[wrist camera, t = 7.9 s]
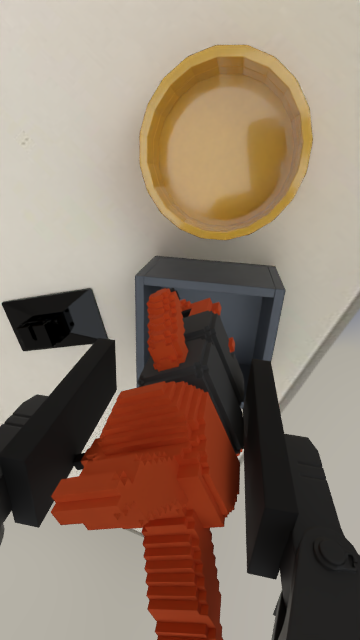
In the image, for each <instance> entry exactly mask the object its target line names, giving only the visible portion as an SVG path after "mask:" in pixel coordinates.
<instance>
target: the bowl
mask: <svg viewBox="0 0 360 640" xmlns="http://www.w3.org/2000/svg"><path fill="white" fill-rule="evenodd" d="M312 141H313V138H312V127H311V117H310V109H309V106H308V103H307V101H306V99H305V97H304V94H303V92H302V90H301V88H300V85H299V83H298V81H297V80H296V78H295V77H294V76H293V75H292V74H291V73H290V72H289V71H288V70H287V69H286V68H285V67H284V66H283V65H282V64H281V63H280V61H279V60H278V59H277V58H275V57H274V56H272V55H270V54H267V53H265V52H263V51H260V50H258V49H256V48H253V47H251V46H248V45H247V46H246V45H217V46H216V45H215V46H212V47H210V48H207V49H205V50H202V51H200V52H198V53H195V54H193V55H190V56H188V58H185V59H184V60H183V61H182V62H181V63H180V64H179V65H178V66H176V67H175V68H174V69H173V70H172V71H171V72H170V73H169V74H167V75H166V76H165V77H164V78H163V80H162V81H161V83H160V85H159V86H158V88H157V90H156V91H155V93H154V95H153V96H152V98H151V100H150V101H149V103H148V105H147V108H146V112H145V115H144V119H143V123H142V127H141V130H140V136H139V149H140V168H141V171H142V175H143V178H144V182H145V185H146V189H147V191H148V193H149V195H150V196H151V198H152V199H153V201H154V203H155V204H156V206H157V207H158V209H159V211H160V212H162V214H163V215H164V216H165V217H166V218H167V219H169V220H170V221H171V222H172V223H173V224H174V225H176V226H177V227H178V228H179V229H181V230H183V231H185V232H188V233H190V234H192V235H195V236H197V237H200V238H203V239H216V240H229V239H233V238H237V237H241V236H245V235H249V234H252V233H253V232H255V231H257V230H258V229H260V228H262V227H263V226H265V225H267V224H268V223H270V222H272V221H273V220H274V219H275V218H276V217H277V216H278V215H279V214H280V213H281V212H282V211H283V210H284V208H285V207H286V206H287V205H288V204H289V203H290V202H291V201H292V199H293V198H294V196H295V194H296V192H297V190H298V188H299V186H300V184H301V182H302V181H303V179H304V177H305V175H306V172H307V168H308V163H309V158H310V153H311V148H312V143H313V142H312Z"/></svg>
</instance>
